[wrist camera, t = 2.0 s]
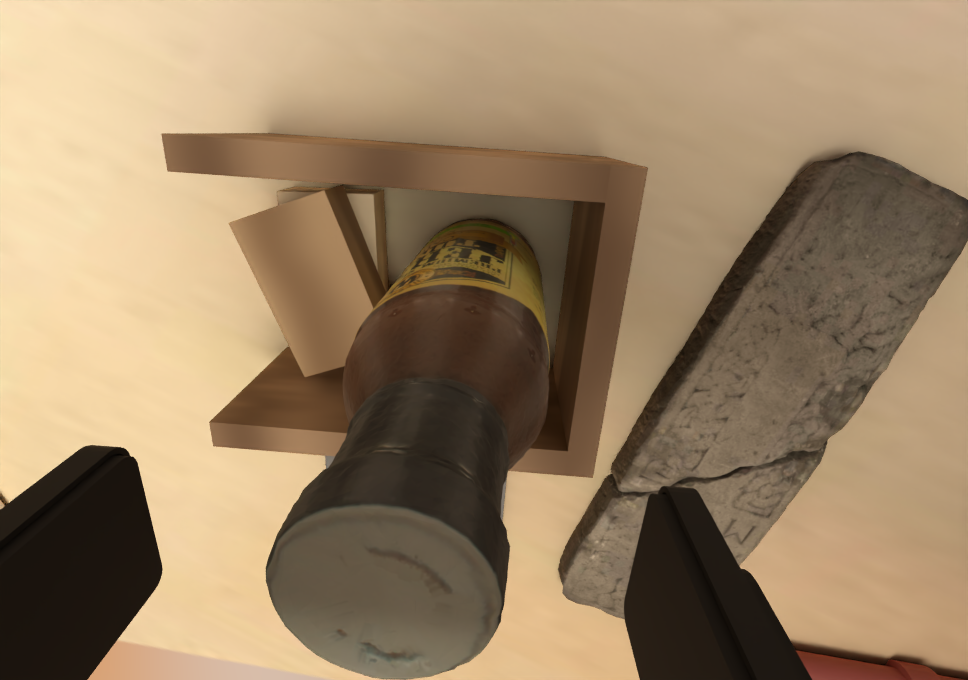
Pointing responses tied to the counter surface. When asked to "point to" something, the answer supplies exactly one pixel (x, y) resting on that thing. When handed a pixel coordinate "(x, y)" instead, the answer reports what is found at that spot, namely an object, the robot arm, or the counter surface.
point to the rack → (585, 179)
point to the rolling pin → (864, 669)
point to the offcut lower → (358, 219)
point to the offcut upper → (313, 274)
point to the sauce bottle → (422, 464)
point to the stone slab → (776, 361)
